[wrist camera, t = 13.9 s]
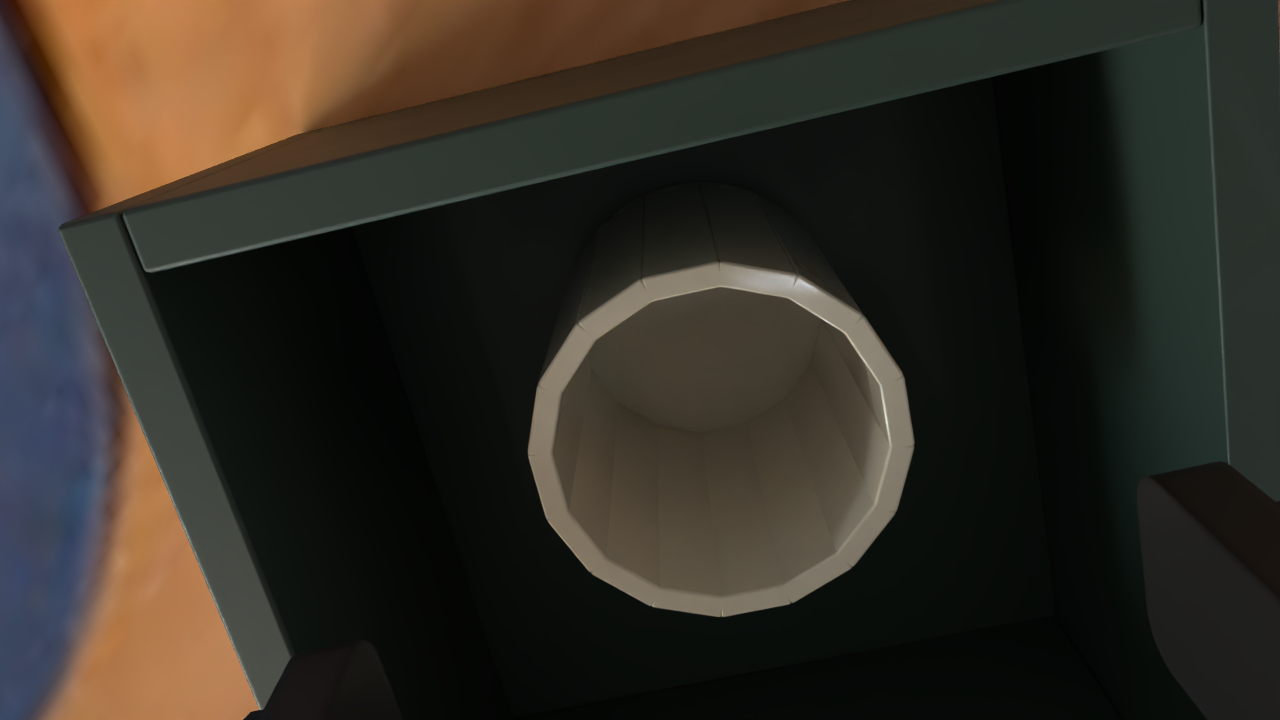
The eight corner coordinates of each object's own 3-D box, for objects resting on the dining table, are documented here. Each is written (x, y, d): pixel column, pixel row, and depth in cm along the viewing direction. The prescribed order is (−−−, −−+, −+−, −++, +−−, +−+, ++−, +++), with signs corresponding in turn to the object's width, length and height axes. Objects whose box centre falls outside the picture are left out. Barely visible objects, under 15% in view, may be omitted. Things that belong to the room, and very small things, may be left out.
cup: (536, 215, 23) (485, 312, 16) (807, 153, 22) (881, 225, 15) (601, 460, 25) (581, 645, 18) (852, 407, 24) (936, 577, 17)
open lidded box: (294, 135, 23) (53, 226, 14) (1008, -38, 22) (1278, -67, 12) (494, 728, 28) (417, 1089, 19) (1080, 617, 27) (1309, 945, 18)
